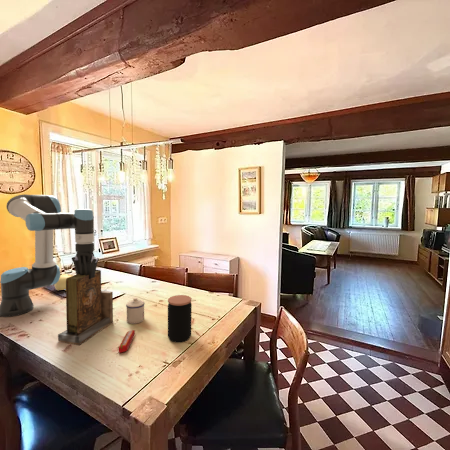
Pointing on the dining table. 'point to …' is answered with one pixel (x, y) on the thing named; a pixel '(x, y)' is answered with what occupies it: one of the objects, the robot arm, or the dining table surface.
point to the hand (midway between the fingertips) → (86, 292)
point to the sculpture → (62, 282)
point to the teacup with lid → (135, 311)
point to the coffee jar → (179, 318)
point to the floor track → (103, 311)
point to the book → (83, 302)
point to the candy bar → (126, 341)
